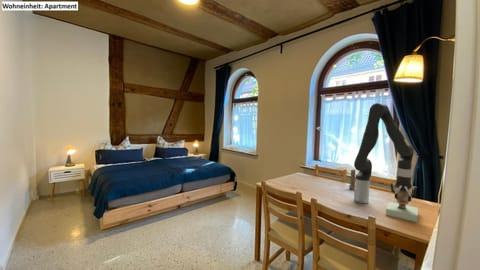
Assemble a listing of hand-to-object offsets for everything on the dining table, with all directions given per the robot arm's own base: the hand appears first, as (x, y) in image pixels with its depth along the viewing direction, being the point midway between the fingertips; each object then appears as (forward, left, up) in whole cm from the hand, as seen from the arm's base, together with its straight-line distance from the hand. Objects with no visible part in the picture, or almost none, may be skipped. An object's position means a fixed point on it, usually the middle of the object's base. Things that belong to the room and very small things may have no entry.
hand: (402, 200), depth 140 cm
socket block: (0, 0, -9) cm, 9 cm away
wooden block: (-35, +38, -10) cm, 53 cm away
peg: (0, 0, -5) cm, 5 cm away
